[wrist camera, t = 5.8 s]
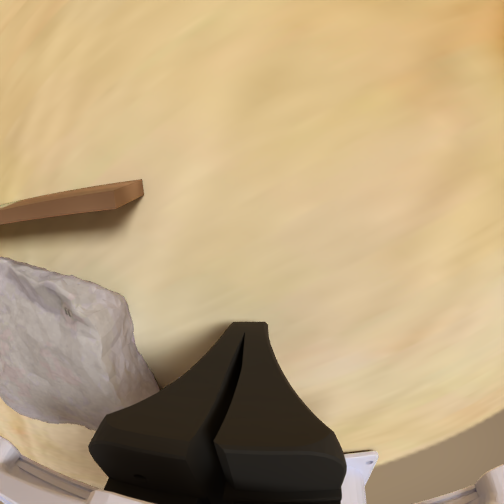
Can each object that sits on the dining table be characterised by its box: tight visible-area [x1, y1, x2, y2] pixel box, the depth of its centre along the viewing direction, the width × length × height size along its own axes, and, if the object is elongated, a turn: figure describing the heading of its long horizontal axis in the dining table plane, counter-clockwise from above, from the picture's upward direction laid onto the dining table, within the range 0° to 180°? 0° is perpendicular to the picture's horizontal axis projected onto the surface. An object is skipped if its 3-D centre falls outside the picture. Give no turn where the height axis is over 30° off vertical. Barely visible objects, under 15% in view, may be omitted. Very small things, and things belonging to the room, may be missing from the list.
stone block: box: [0, 257, 160, 431], centre depth 13 cm, size 12×5×10 cm
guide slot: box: [0, 179, 144, 225], centre depth 13 cm, size 13×15×2 cm
